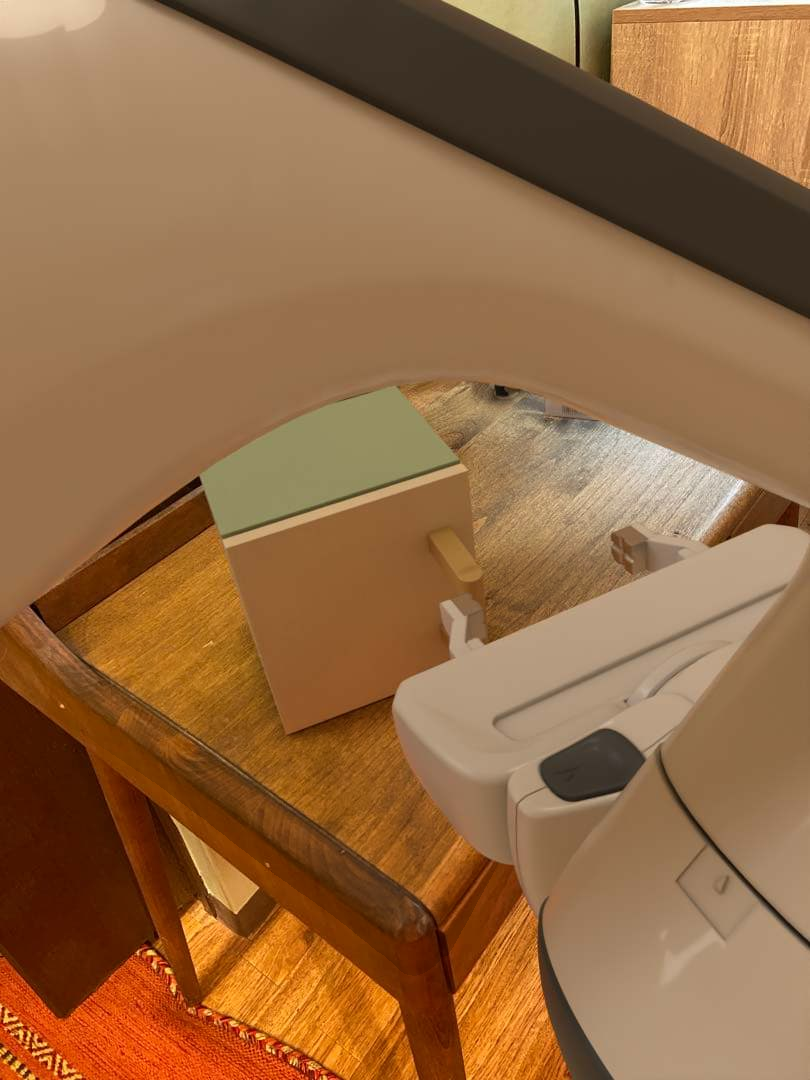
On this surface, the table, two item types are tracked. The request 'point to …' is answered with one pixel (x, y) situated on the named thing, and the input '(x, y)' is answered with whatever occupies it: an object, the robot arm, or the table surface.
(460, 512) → the cupboard door
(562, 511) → the table surface
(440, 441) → the cupboard
